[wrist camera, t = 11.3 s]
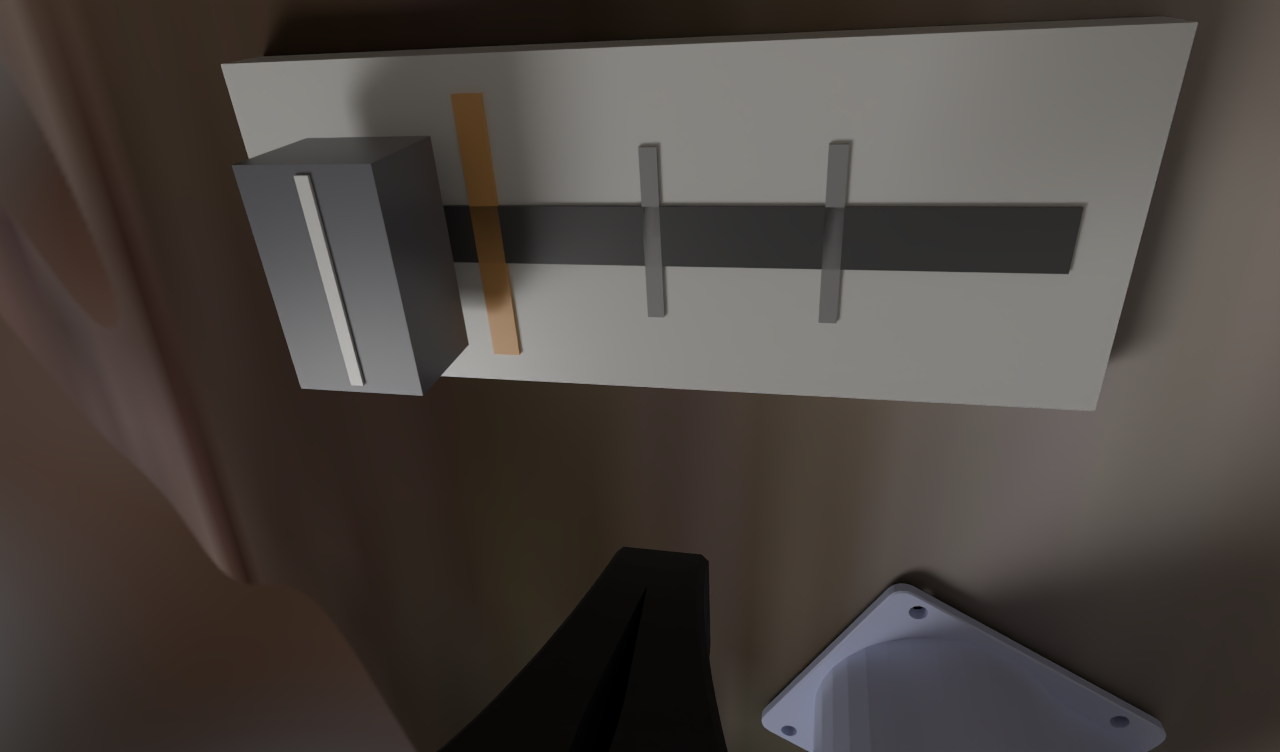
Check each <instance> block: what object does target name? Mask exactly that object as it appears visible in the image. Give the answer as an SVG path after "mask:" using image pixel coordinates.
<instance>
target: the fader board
mask: <svg viewBox="0 0 1280 752" xmlns="http://www.w3.org/2000/svg"><path fill="white" fill-rule="evenodd" d="M1197 25H1198V22H1195V21H1189V20H1184V19H1179V18H1174V17H1168V16H1154V17H1132V18H1110V19H1087V20H1065V21H1043V22H1021V23H998V24H976V25H954V26H931V27H909V28H887V29H864V30H842V31H820V32H797V33H775V34H753V35H731V36H708V37H686V38H664V39H641V40H619V41H597V42H574V43H552V44H530V45H508V46H485V47H463V48H441V49H418V50H396V51H374V52H351V53H329V54H307V55H285V56H262V57H256V58H251V59H246V60H240V61H235V62H230V63H224V64H221V67H222V70H223V74H224V77H225V80H226V84H227V87H228V90H229V94H230V97H231V100H232V104H233V107H234V110H235V114H236V117H237V120H238V124H239V127H240V130H241V134H242V137H243V140H244V144H245V147H246V151H247V154H248V157H249V159H250V158H253V157H255V156H258V155H261V154H264V153H267V152H269V151H272V150H275V149H278V148H280V147H283V146H286V145H289V144H292V143H294V142H297V141H300V140H303V139H305V138H337V137H391V136H430V137H431V142H432V148H433V153H434V159H435V164H436V170H437V175H438V180H439V186H440V191H441V197H442V202H443V207H444V213H445V218H446V224H447V229H448V234H449V240H450V245H451V251H452V256H453V262H454V267H455V272H456V278H457V283H458V289H459V294H460V299H461V305H462V310H463V316H464V321H465V326H466V332H467V337H468V343H469V345H468V346H467V347H466V349H465V350H464V351H463V352H462V353H461V354H460V355H459V356H458V357H457V359H456V360H455V361H454V362H453V363H452V364H451V365H450V366H449V367H448V368H447V370H446V371H445V372H444V373H443V374H442V375H441V376H452V377H471V378H489V379H508V380H526V381H545V382H564V383H582V384H601V385H619V386H638V387H656V388H675V389H694V390H712V391H731V392H749V393H768V394H787V395H805V396H824V397H842V398H861V399H880V400H898V401H917V402H935V403H954V404H973V405H991V406H1010V407H1028V408H1047V409H1066V410H1084V411H1095V409H1096V405H1097V401H1098V398H1099V394H1100V390H1101V386H1102V383H1103V379H1104V375H1105V371H1106V367H1107V364H1108V360H1109V356H1110V352H1111V349H1112V345H1113V341H1114V337H1115V334H1116V330H1117V326H1118V322H1119V319H1120V315H1121V311H1122V307H1123V304H1124V300H1125V296H1126V292H1127V288H1128V285H1129V281H1130V277H1131V273H1132V270H1133V266H1134V262H1135V258H1136V255H1137V251H1138V247H1139V243H1140V240H1141V236H1142V232H1143V228H1144V225H1145V221H1146V217H1147V213H1148V209H1149V206H1150V202H1151V198H1152V194H1153V191H1154V187H1155V183H1156V179H1157V176H1158V172H1159V168H1160V164H1161V161H1162V157H1163V153H1164V149H1165V145H1166V142H1167V138H1168V134H1169V130H1170V127H1171V123H1172V119H1173V115H1174V112H1175V108H1176V104H1177V100H1178V97H1179V93H1180V89H1181V85H1182V82H1183V78H1184V74H1185V70H1186V66H1187V63H1188V59H1189V55H1190V51H1191V48H1192V44H1193V40H1194V36H1195V33H1196V29H1197Z"/></svg>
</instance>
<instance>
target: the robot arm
mask: <svg viewBox="0 0 1280 752" xmlns="http://www.w3.org/2000/svg"><path fill="white" fill-rule="evenodd" d="M914 606H921V607H924V608H922V609H913V608H912V607H914ZM709 655H710V604H709V561H708V560H707V559H706V558H704V557H703V556H702V555H701V554H691V553H681V552H670V551H660V550H650V549H640V548H630V547H623V548H621V549H620V550H619V551H617V552H616V554H615V555H614V557H613V558H612V560H611V561H610V563H609V564H608V565H607V567H606V568H605V570H604V571H603V572H602V574H601V575H600V576H599V578H598V579H597V581H596V582H595V583H594V585H593V586H592V587H591V588H590V590H589V591H588V592H587V594H586V595H585V596H584V598H583V599H582V600H581V601H580V603H579V604H578V605H577V606H576V608H575V609H574V610H573V612H572V613H571V614H570V615H569V616H568V618H567V619H566V620H565V621H564V622H563V623H562V625H561V626H560V627H559V628H558V629H557V631H556V632H555V633H554V634H553V635H552V637H551V638H550V639H549V640H548V641H547V643H546V644H545V645H544V646H543V647H542V648H541V650H540V651H539V652H538V653H537V654H536V655H535V656H534V657H533V658H532V659H531V661H530V662H529V663H528V664H527V665H526V666H525V667H524V668H523V669H522V670H521V671H520V672H519V673H518V674H517V676H516V677H515V678H514V679H513V680H512V681H511V682H510V683H509V684H508V685H507V686H506V687H505V688H504V689H503V690H502V692H501V693H500V694H499V695H498V696H497V697H496V698H495V699H494V700H493V701H492V702H491V703H489V704H488V705H487V706H486V707H485V708H484V709H483V710H482V711H481V712H480V713H479V714H478V715H477V716H476V717H475V718H474V719H473V720H472V721H471V722H470V723H469V724H468V725H466V726H465V727H464V728H463V729H462V730H461V731H460V732H459V733H458V734H457V735H456V736H454V737H453V738H452V739H451V740H450V741H449V742H448V743H447V744H446V745H444V746H443V747H442V748H441V749H440V750H439V751H437V752H728V751H727V747H726V743H725V739H724V735H723V730H722V726H721V721H720V716H719V712H718V707H717V702H716V697H715V692H714V687H713V681H712V675H711V668H710V661H709ZM762 724H763V726H764V727H765V728H766V729H768V730H769V731H771V732H773V733H775V734H777V735H779V736H780V737H782V738H784V739H786V740H788V741H790V742H792V743H794V744H796V745H798V746H799V747H801V748H803V749H805V750H807V751H809V752H1148V751H1150V750H1152V749H1153V748H1155V747H1157V746H1158V745H1160V744H1161V743H1162V742H1163V741H1164V740H1165V738H1166V733H1165V731H1164V728H1163V726H1162V724H1161V722H1160V721H1159V720H1157V719H1156V718H1154V717H1152V716H1151V715H1149V714H1147V713H1145V712H1143V711H1141V710H1140V709H1138V708H1136V707H1134V706H1132V705H1130V704H1129V703H1127V702H1125V701H1123V700H1121V699H1119V698H1118V697H1116V696H1114V695H1112V694H1110V693H1108V692H1107V691H1105V690H1103V689H1101V688H1099V687H1097V686H1096V685H1094V684H1092V683H1090V682H1088V681H1086V680H1085V679H1083V678H1081V677H1079V676H1077V675H1075V674H1074V673H1072V672H1070V671H1068V670H1066V669H1064V668H1063V667H1061V666H1059V665H1057V664H1055V663H1053V662H1052V661H1050V660H1048V659H1046V658H1044V657H1042V656H1041V655H1039V654H1037V653H1035V652H1033V651H1031V650H1030V649H1028V648H1026V647H1024V646H1022V645H1020V644H1019V643H1017V642H1015V641H1013V640H1011V639H1009V638H1008V637H1006V636H1004V635H1002V634H1000V633H998V632H997V631H995V630H993V629H991V628H989V627H987V626H986V625H984V624H982V623H980V622H978V621H976V620H975V619H973V618H971V617H969V616H967V615H965V614H964V613H962V612H960V611H958V610H956V609H954V608H953V607H951V606H949V605H947V604H945V603H943V602H942V601H940V600H938V599H936V598H934V597H932V596H931V595H929V594H927V593H925V592H923V591H921V590H920V589H918V588H916V587H914V586H912V585H909V584H902V583H899V584H895V585H892V586H891V587H889V588H888V589H887V590H886V591H885V592H884V593H883V594H882V595H881V596H880V597H879V598H878V599H877V600H876V601H874V602H873V603H872V604H871V605H870V606H869V607H868V608H867V609H866V610H865V611H864V612H863V613H862V614H861V615H860V616H859V617H858V618H857V619H856V620H855V621H854V622H853V623H852V624H851V625H850V626H849V627H848V628H847V629H846V630H845V631H844V632H843V633H842V634H841V635H840V636H838V637H837V638H836V639H835V640H834V641H833V642H832V643H831V644H830V645H829V646H828V647H827V648H826V649H825V650H824V651H823V652H822V653H821V654H820V655H819V656H818V657H817V658H816V659H815V660H814V661H813V662H812V663H811V664H810V665H809V666H808V667H807V668H806V669H805V670H804V671H802V672H801V673H800V674H799V675H798V676H797V677H796V678H795V679H794V680H793V681H792V682H791V683H790V684H789V685H788V686H787V687H786V688H785V689H784V690H783V691H782V692H781V693H780V694H779V695H778V696H777V697H776V698H775V699H774V700H773V701H772V702H771V703H770V704H769V705H768V706H766V707H765V708H764V710H763V712H762Z"/></svg>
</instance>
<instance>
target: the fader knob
mask: <svg viewBox="0 0 1280 752" xmlns="http://www.w3.org/2000/svg"><path fill="white" fill-rule="evenodd" d="M232 168H233V171H234V174H235V177H236V180H237V184H238V187H239V190H240V193H241V196H242V200H243V203H244V206H245V209H246V212H247V216H248V219H249V222H250V225H251V229H252V232H253V235H254V238H255V241H256V245H257V248H258V251H259V254H260V257H261V261H262V264H263V267H264V270H265V273H266V277H267V280H268V283H269V286H270V289H271V293H272V296H273V299H274V302H275V306H276V309H277V312H278V315H279V318H280V322H281V325H282V328H283V331H284V334H285V338H286V341H287V344H288V347H289V350H290V354H291V357H292V360H293V363H294V367H295V370H296V373H297V376H298V379H299V383H300V386H301V388H304V389H320V390H337V391H354V392H370V393H387V394H404V395H420V396H423V395H424V394H425V393H426V392H427V391H428V389H429V388H430V387H431V386H432V385H433V384H434V383H435V382H436V381H437V380H438V378H439V377H440V376H441V375H442V374H443V373H444V372H445V371H446V370H447V368H448V367H449V366H450V365H451V364H452V363H453V362H454V361H455V360H456V359H457V357H458V356H459V355H460V354H461V353H462V352H463V351H464V350H465V349H466V347H467V346H468V345H469V343H468V337H467V332H466V326H465V321H464V316H463V310H462V305H461V299H460V294H459V289H458V283H457V278H456V272H455V267H454V262H453V256H452V251H451V245H450V240H449V234H448V229H447V224H446V218H445V213H444V207H443V202H442V197H441V191H440V186H439V180H438V175H437V170H436V164H435V159H434V153H433V148H432V142H431V137H430V136H391V137H337V138H305V139H303V140H300V141H297V142H294V143H292V144H289V145H286V146H283V147H280V148H278V149H275V150H272V151H269V152H267V153H264V154H261V155H258V156H255V157H253V158H250V159H247V160H244V161H242V162H239V163H236V164H233V165H232Z"/></svg>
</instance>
